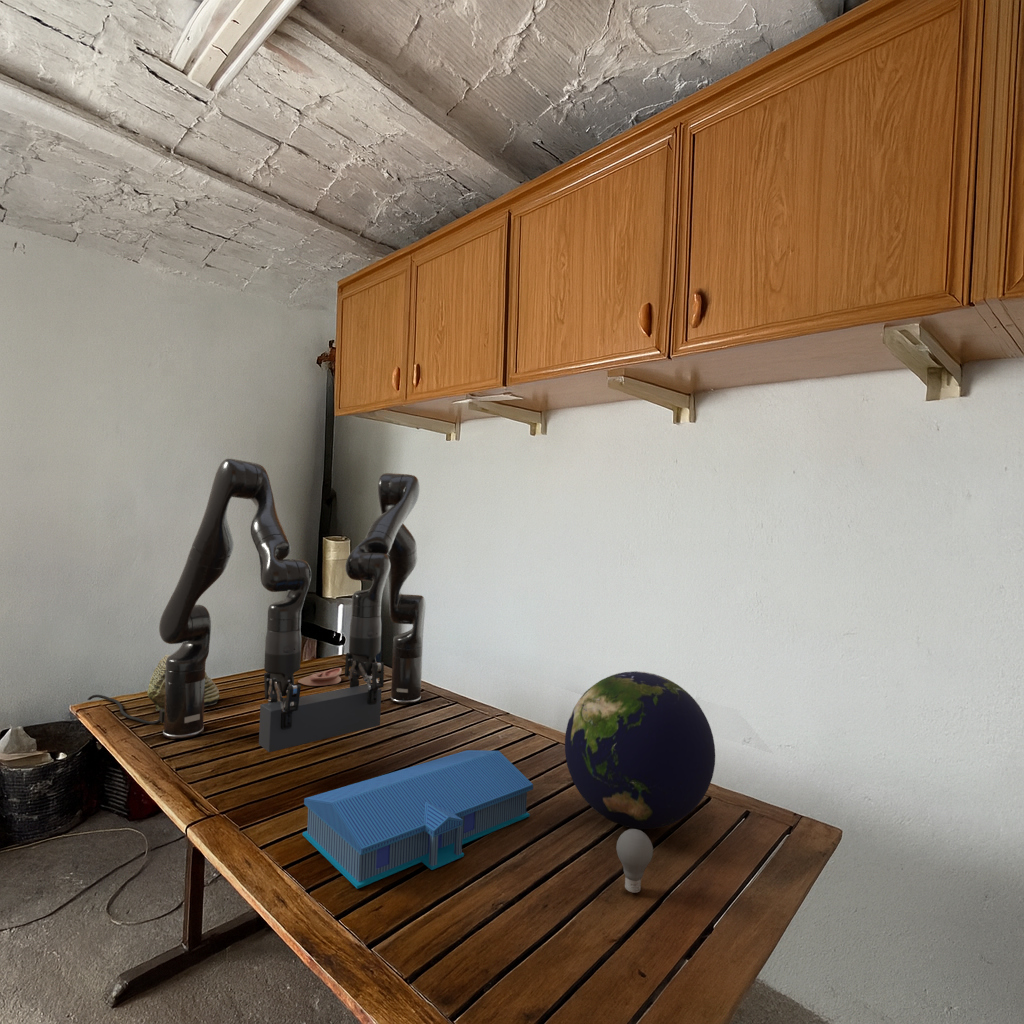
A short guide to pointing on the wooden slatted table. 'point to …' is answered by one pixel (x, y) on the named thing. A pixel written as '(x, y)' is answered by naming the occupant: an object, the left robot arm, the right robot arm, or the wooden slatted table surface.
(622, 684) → the globe
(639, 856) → the light bulb
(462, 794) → the model building
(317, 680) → the anatomical model
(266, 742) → the bar
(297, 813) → the wooden slatted table surface
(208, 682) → the fossil
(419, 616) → the right robot arm
